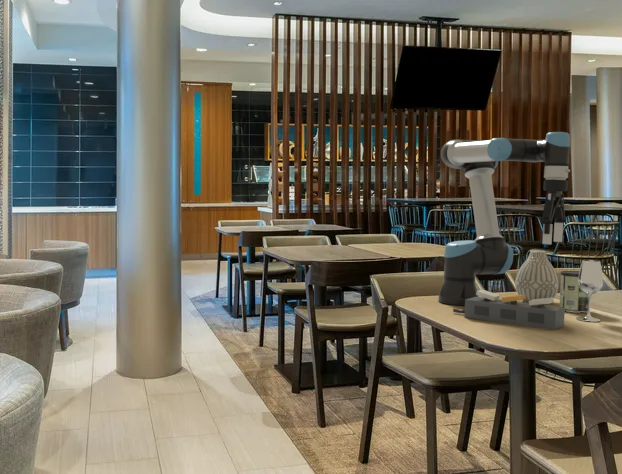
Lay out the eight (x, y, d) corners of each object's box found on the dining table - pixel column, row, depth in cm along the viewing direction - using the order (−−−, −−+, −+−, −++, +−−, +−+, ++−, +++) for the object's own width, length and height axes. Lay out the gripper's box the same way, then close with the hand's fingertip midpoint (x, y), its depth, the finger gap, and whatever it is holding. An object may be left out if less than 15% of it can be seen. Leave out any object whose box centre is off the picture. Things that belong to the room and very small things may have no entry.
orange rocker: (502, 301, 221) (501, 297, 221) (507, 300, 224) (506, 296, 224) (521, 300, 217) (520, 295, 217) (526, 298, 220) (525, 294, 221)
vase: (526, 297, 273) (528, 248, 272) (564, 303, 262) (567, 251, 260) (506, 301, 262) (508, 250, 260) (545, 307, 251) (548, 253, 249)
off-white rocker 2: (529, 305, 215) (528, 300, 216) (534, 303, 219) (533, 299, 219) (549, 303, 212) (548, 299, 212) (553, 301, 215) (553, 297, 215)
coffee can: (586, 309, 248) (588, 271, 247) (592, 314, 238) (594, 274, 237) (556, 307, 250) (558, 269, 249) (561, 312, 240) (563, 273, 239)
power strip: (447, 315, 230) (448, 295, 230) (459, 311, 237) (460, 292, 237) (554, 330, 208) (555, 308, 208) (563, 325, 216) (565, 304, 215)
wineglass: (571, 317, 231) (574, 259, 229) (593, 317, 231) (596, 259, 230) (582, 322, 223) (585, 261, 221) (605, 322, 223) (608, 262, 222)
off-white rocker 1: (475, 294, 226) (476, 290, 226) (481, 293, 230) (482, 289, 230) (493, 300, 223) (494, 296, 222) (498, 299, 226) (499, 295, 226)
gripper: (557, 178, 212) (554, 245, 214) (576, 180, 233) (573, 241, 234) (533, 178, 216) (530, 244, 218) (554, 179, 237) (551, 240, 239)
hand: (552, 243), depth 226 cm, fingers open, 13 cm apart
